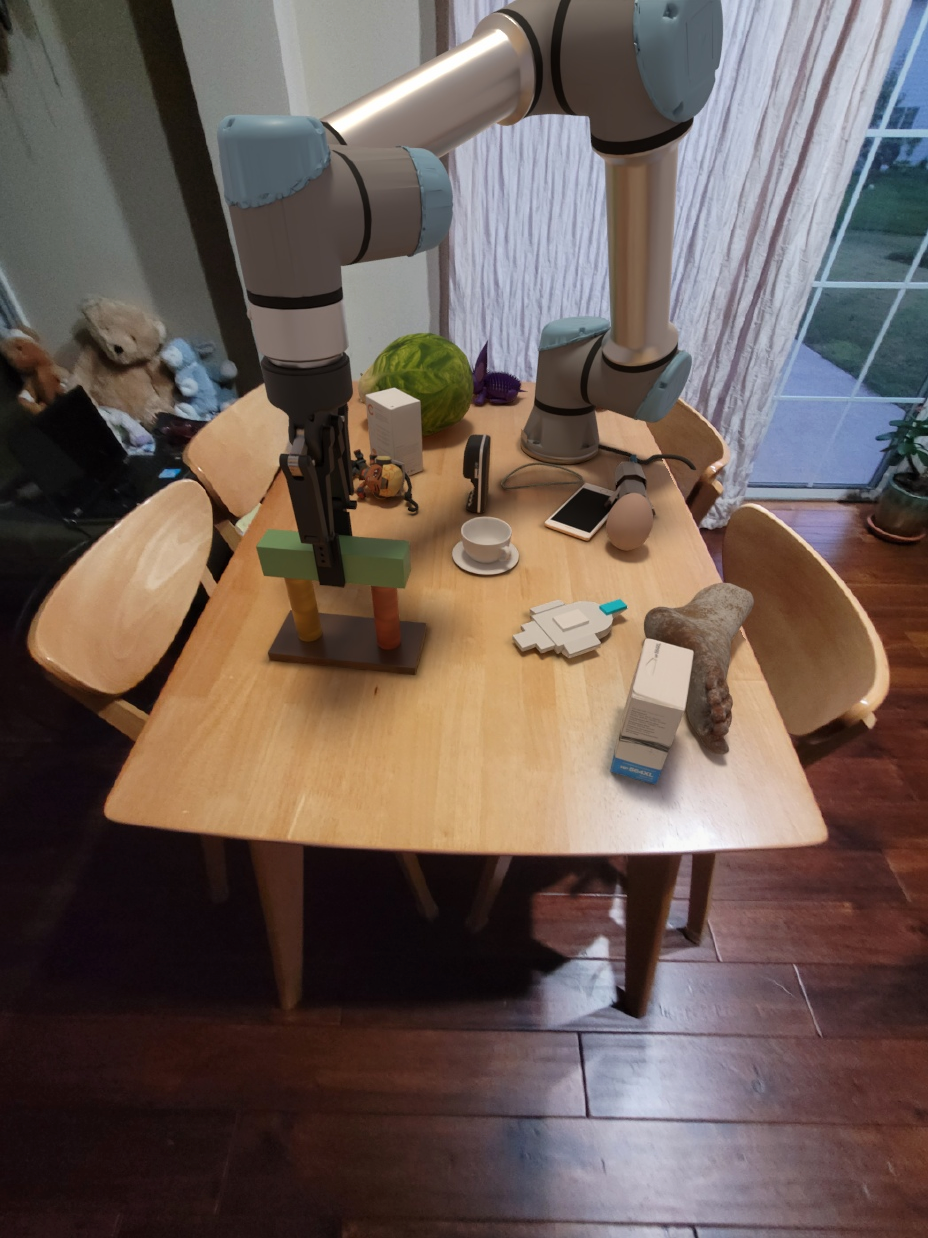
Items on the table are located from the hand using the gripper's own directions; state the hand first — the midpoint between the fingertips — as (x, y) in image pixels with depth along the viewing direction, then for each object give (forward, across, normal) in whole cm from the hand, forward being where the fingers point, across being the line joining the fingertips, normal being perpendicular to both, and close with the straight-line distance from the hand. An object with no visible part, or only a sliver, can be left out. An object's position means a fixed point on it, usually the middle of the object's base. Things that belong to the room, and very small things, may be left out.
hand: (338, 572), depth 65 cm
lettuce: (+11, -63, -4) cm, 64 cm away
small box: (+11, -47, -4) cm, 48 cm away
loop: (+11, -50, +24) cm, 57 cm away
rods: (+11, 0, 0) cm, 11 cm away
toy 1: (+6, -40, -9) cm, 41 cm away
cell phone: (+11, -36, +31) cm, 49 cm away
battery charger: (+11, -36, +12) cm, 40 cm away
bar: (0, 0, 0) cm, 0 cm away
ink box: (+11, +11, +34) cm, 38 cm away
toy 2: (+9, -30, +38) cm, 50 cm away
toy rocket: (+9, -6, +28) cm, 30 cm away
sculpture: (+7, +2, +38) cm, 39 cm away
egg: (+11, -26, +36) cm, 46 cm away
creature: (+11, -82, +10) cm, 83 cm away
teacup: (+11, -21, +15) cm, 28 cm away
